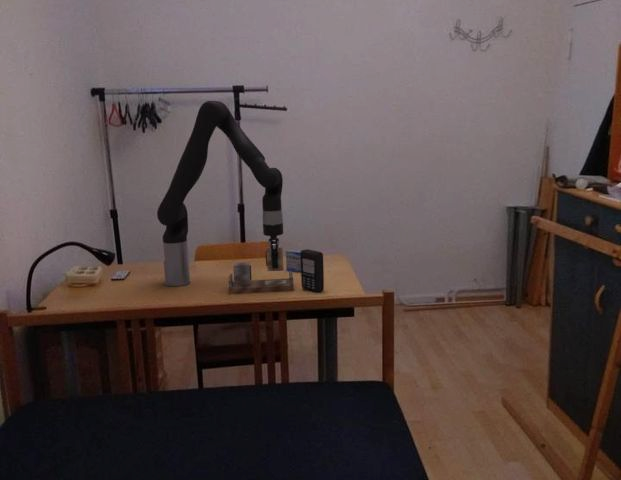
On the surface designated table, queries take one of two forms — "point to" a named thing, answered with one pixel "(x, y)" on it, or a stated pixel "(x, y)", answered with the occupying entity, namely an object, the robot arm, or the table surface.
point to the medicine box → (293, 260)
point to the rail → (255, 281)
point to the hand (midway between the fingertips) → (275, 266)
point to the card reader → (312, 270)
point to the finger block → (269, 260)
